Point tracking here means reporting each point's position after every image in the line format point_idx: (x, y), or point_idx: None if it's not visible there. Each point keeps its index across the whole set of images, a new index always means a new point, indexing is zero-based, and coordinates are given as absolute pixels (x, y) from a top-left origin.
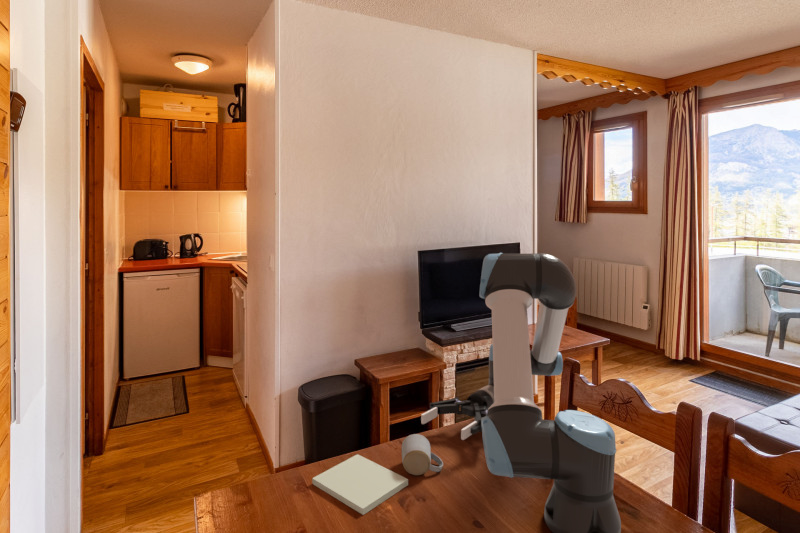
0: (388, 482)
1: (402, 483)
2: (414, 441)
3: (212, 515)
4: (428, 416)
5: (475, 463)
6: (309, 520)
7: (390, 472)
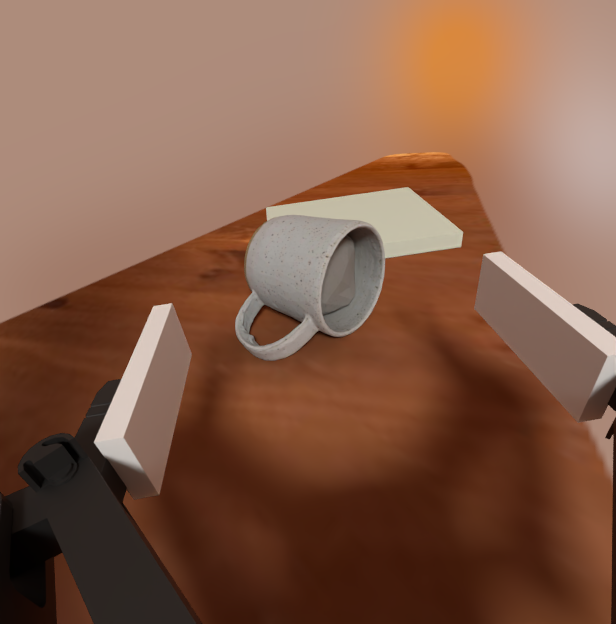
0: None
1: None
2: (312, 219)
3: (405, 156)
4: (510, 308)
5: None
6: (317, 191)
7: None
